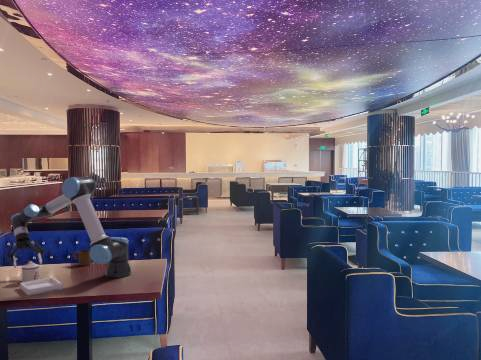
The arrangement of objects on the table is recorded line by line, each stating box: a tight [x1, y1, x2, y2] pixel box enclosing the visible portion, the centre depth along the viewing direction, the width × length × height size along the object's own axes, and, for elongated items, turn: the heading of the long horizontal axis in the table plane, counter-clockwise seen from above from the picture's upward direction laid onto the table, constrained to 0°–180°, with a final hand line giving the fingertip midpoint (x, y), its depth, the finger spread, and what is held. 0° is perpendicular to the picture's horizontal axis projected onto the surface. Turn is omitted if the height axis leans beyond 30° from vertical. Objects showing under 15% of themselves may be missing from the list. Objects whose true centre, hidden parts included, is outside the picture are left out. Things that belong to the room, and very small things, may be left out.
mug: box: [72, 249, 92, 267], centre depth 271 cm, size 12×8×9 cm, turn 93°
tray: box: [19, 277, 64, 297], centre depth 217 cm, size 17×17×3 cm
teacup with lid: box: [21, 260, 40, 283], centre depth 232 cm, size 12×9×12 cm
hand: (28, 264), depth 234 cm, fingers open, 13 cm apart
